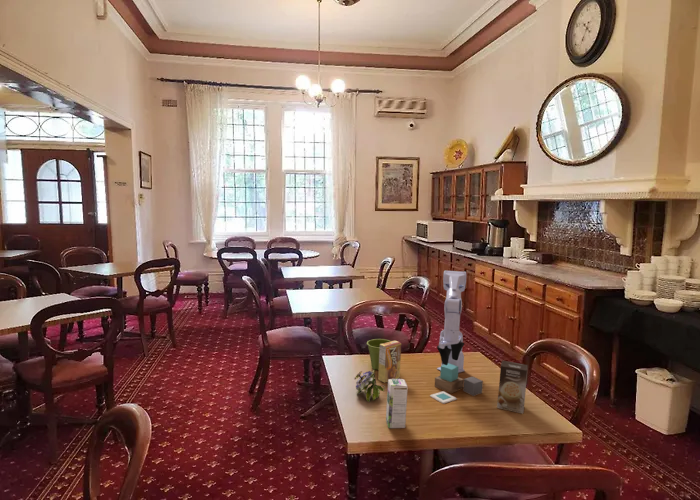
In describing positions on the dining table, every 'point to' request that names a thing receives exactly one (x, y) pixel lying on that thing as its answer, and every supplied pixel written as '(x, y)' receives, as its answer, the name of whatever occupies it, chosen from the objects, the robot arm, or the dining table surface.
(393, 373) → the candy box
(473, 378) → the charcoal cube
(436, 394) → the card
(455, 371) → the teal cube
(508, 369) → the coffee box
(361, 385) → the passion flower
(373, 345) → the plant pot
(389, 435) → the dining table surface
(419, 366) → the dining table surface
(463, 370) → the robot arm
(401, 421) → the syrup box
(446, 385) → the walnut block
